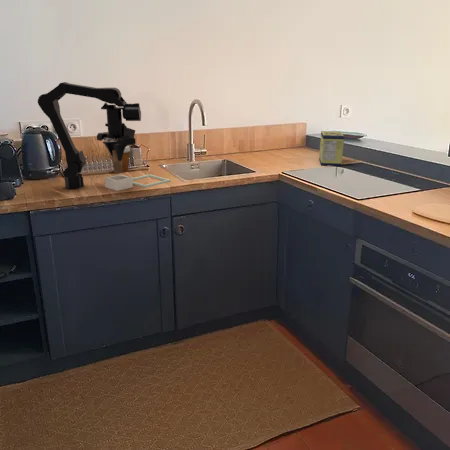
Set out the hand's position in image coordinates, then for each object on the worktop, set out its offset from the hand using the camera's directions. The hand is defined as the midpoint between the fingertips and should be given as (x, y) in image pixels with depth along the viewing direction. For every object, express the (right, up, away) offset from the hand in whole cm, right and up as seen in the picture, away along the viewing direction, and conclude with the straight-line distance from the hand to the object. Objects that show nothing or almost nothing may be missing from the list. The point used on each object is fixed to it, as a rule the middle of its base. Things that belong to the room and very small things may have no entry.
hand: (117, 159), depth 192 cm
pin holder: (0, -12, +4) cm, 12 cm away
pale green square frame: (+10, -9, +13) cm, 19 cm away
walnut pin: (0, -5, +2) cm, 5 cm away
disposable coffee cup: (-6, -1, +33) cm, 34 cm away
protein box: (+99, +6, +57) cm, 114 cm away
